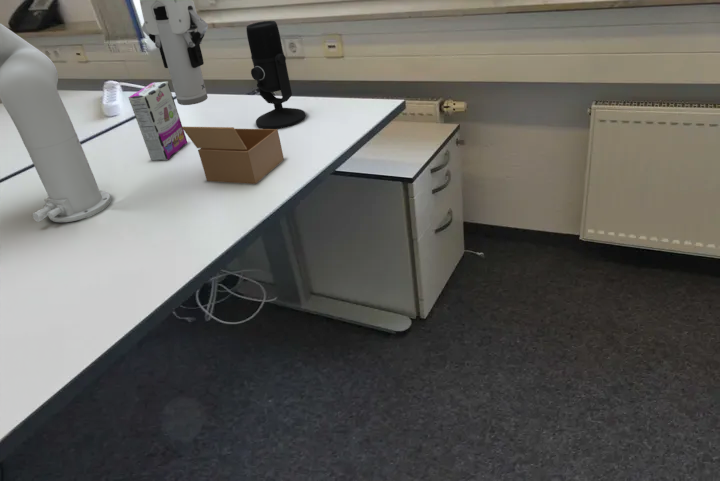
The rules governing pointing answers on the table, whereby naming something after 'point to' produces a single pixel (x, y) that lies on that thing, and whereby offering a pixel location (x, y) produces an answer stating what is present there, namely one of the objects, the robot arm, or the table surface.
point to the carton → (244, 158)
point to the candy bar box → (158, 120)
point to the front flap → (215, 137)
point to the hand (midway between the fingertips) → (184, 65)
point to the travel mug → (180, 63)
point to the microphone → (271, 75)
